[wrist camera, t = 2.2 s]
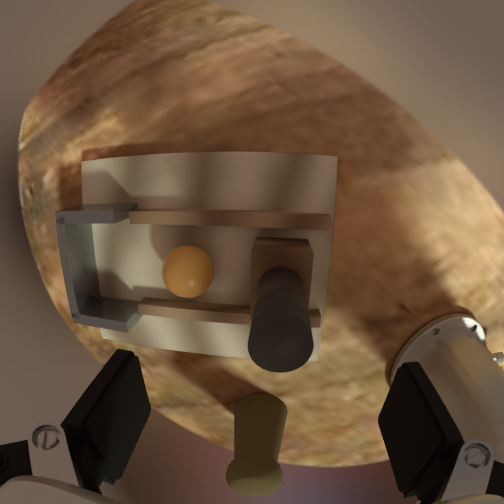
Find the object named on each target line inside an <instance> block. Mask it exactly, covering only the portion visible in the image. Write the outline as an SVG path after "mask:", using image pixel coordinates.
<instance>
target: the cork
mask: <svg viewBox="0 0 504 504" xmlns="http://www.w3.org/2000/svg"><path fill="white" fill-rule="evenodd" d="M286 416H287V408H286V405H285V404H284V403H283V401H281V400H280V399H278V398H277V397H274V396H271V395H268V394H251V395H248V396H245V397H243V398H241V399H240V400H239V401H238V402H237V403H236V405H235V411H234V460H233V461H232V462H231V463H230V464H229V466H228V468H227V472H226V481H227V483H228V485H229V486H230V488H231V489H232V490H234V491H236V492H238V493H240V494H243V495H247V496H264V495H268V494H271V493H273V492H275V491H276V490H277V489H278V488H279V486H280V484H281V481H282V471H281V468H280V465H279V464H278V463H277V461H278V456H279V452H280V447H281V442H282V437H283V432H284V427H285V422H286Z"/></svg>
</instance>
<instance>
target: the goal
mask: <svg viewBox="0 0 504 504" xmlns="http://www.w3.org/2000/svg"><path fill="white" fill-rule="evenodd" d="M135 209H137V203H114V204H85V205H79V206H75V207H71V208H67V209H63V210H59V211H56V212H55V213H56V224H57V234H58V242H59V250H60V257H61V264H62V270H63V276H64V281H65V287H66V292H67V296H68V301H69V306H70V310H71V314H72V319H73V322H74V323H79V324H84V325H88V326H93V327H98V328H104V329H109V330H114V331H120V332H126V333H128V332H129V331H130V330H131V329H132V328H133V326H134V325H135V324H136V323H137V322H138V321H139V320H140V318H141V317H142V316H143V315H142V314H139V310H138V303H139V302H140V301H132V300H124V299H116V298H109V297H101V293H100V287H99V280H98V274H97V266H96V259H95V250H94V241H93V231H92V224H114V223H117V222H119V221H122V220H125V219H127V218H129V211H132V210H135Z"/></svg>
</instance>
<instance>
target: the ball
mask: <svg viewBox="0 0 504 504" xmlns="http://www.w3.org/2000/svg"><path fill="white" fill-rule="evenodd" d="M213 276H214V268H213V264H212V261H211V259H210V257H209V256H208V255H207V253H205V252H204V251H203V250H202V249H200V248H198V247H195V246H190V245H185V246H180V247H177V248H175V249H174V250H172V251H171V252H170V253H169V254H168V255H167V256H166V258H165V260H164V262H163V266H162V277H163V281H164V283H165V285H166V286H167V288H168V289H169V290H170V291H171V292H172V293H174V294H175V295H177V296H180V297H184V298H192V297H196V296H199V295H201V294H202V293H204V292H205V291H206V290H207V289H208V288H209V286H210V285H211V283H212V280H213Z"/></svg>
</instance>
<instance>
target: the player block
mask: <svg viewBox="0 0 504 504" xmlns="http://www.w3.org/2000/svg"><path fill="white" fill-rule="evenodd" d="M313 256H314V253H313V250H312V248H311V245H310V243H309V241H308V239H296V238H274V237H256V238H255V241H254V244H253V247H252V250H251V290H250V320H252V322H251V328H250V333H249V339H248V352H249V355H250V357H251V359H252V360H253V361H254V362H255V363H256V364H257V365H258V366H259V367H261V368H263V369H265V370H268V371H271V372H278V373H279V372H289V371H293V370H295V369H298V368H299V367H301V366H302V365H304V364H305V363H306V362H307V361H308V360H309V358H310V357H311V355H312V352H313V349H314V341H313V336H312V330H311V324H310V319H309V314H308V308H309V299H310V289H311V279H312V268H313Z"/></svg>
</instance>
